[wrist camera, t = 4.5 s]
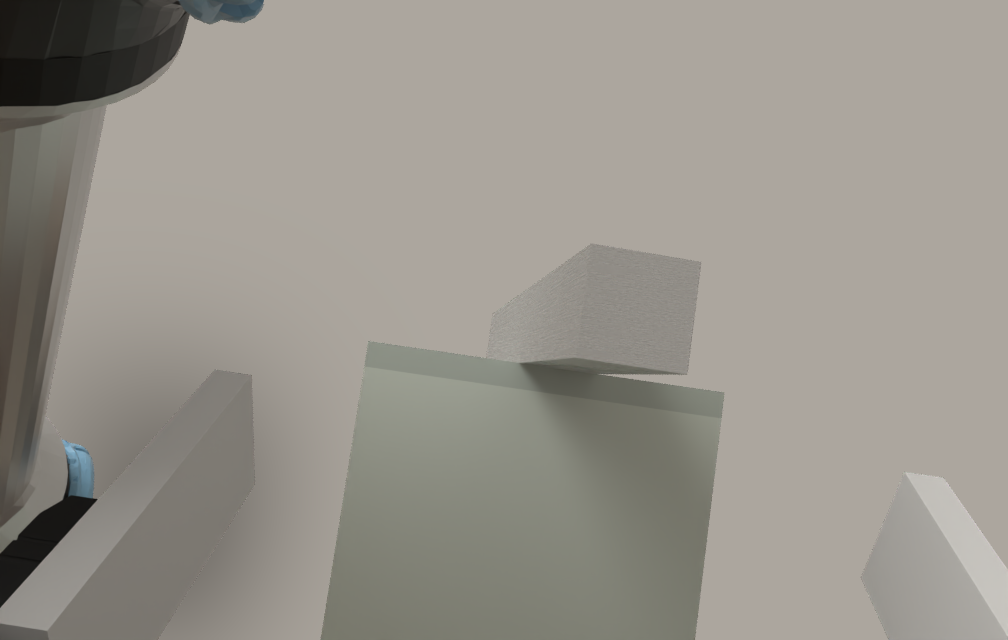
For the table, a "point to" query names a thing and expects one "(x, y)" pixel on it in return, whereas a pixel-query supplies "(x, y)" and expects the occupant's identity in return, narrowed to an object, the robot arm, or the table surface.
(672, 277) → the rail bar
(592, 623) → the pedestal
